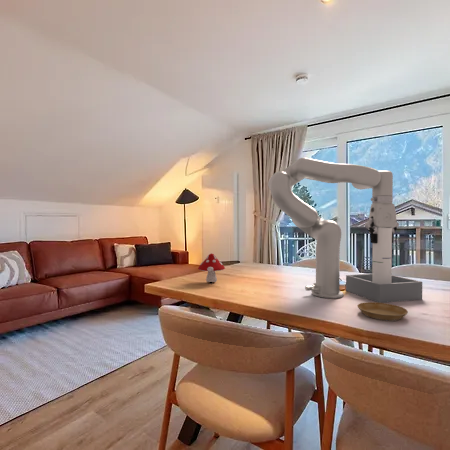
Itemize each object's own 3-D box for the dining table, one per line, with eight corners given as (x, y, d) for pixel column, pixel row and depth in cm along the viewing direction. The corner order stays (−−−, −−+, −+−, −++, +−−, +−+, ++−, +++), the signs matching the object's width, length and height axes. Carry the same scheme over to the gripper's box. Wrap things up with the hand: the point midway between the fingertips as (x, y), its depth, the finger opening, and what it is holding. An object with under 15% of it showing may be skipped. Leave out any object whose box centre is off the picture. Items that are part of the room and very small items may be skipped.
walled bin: (379, 302, 111) (379, 284, 111) (346, 290, 130) (346, 275, 130) (422, 299, 116) (422, 281, 116) (383, 288, 135) (383, 273, 135)
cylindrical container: (394, 289, 119) (394, 228, 118) (375, 288, 120) (375, 228, 120) (388, 285, 126) (388, 227, 125) (370, 284, 127) (370, 227, 127)
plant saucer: (348, 310, 103) (348, 303, 102) (383, 307, 106) (383, 300, 106) (379, 325, 88) (379, 316, 88) (419, 321, 91) (419, 313, 91)
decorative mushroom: (222, 286, 140) (222, 255, 140) (194, 285, 142) (194, 254, 142) (226, 280, 154) (226, 252, 154) (201, 279, 156) (201, 251, 156)
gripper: (371, 199, 117) (370, 244, 117) (406, 200, 121) (406, 243, 121) (358, 201, 124) (358, 242, 124) (392, 201, 128) (392, 241, 129)
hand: (382, 242), depth 123 cm, fingers closed on cylindrical container, 7 cm apart
